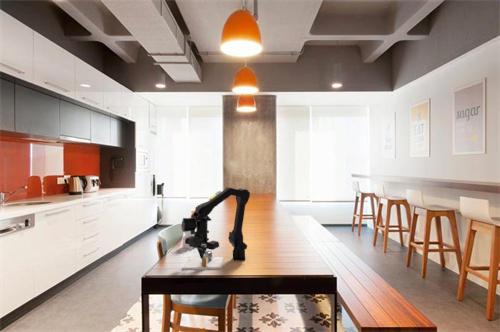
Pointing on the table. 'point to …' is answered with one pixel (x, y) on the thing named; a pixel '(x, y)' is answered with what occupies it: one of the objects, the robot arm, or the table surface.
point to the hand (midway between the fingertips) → (201, 258)
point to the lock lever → (206, 258)
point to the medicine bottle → (187, 234)
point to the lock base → (197, 263)
